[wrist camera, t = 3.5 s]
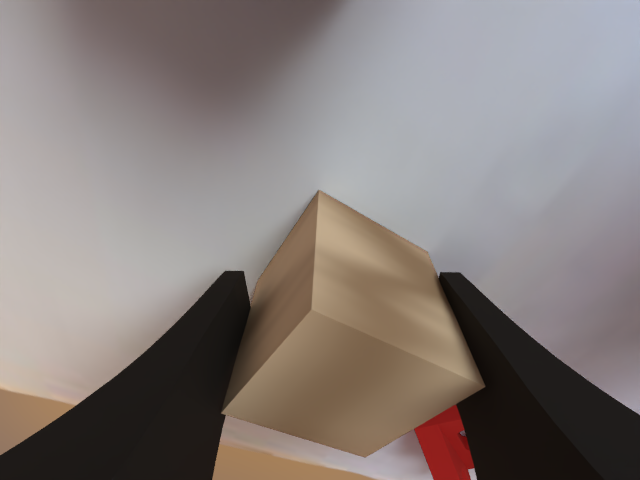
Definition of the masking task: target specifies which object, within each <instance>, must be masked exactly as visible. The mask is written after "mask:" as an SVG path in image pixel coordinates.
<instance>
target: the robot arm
mask: <svg viewBox="0 0 640 480" xmlns="http://www.w3.org/2000/svg"><path fill="white" fill-rule="evenodd" d="M439 281H440V284H441V286H442V288H443V291H444V293H445V295H446V298H447V300H448V302H449V304H450V306H451V308H452V310H453V312H454V315H455V317H456V319H457V322H458V324H459V326H460V329H461V331H462V333H463V336H464V338H465V340H466V343H467V345H468V347H469V349H470V352H471V354H472V356H473V359H474V361H475V363H476V366H477V368H478V370H479V373H480V375H481V377H482V380H483V382H484V384H485V387H484V388H482V389H481V390H479V391H477V392H476V393H474V394H472V395H470V396H469V397H467V398H465V399H464V400H462V401H460V402H459V403H457V404H456V406H457V409H458V412H459V414H460V417H461V421H462V424H463V427H464V430H465V433H466V437H467V441H468V445H469V449H470V453H471V457H472V460H473V464H474V468H475V472H476V476H477V480H640V415H639V414H637V413H636V412H634V411H632V410H631V409H629V408H628V407H626V406H625V405H623V404H622V403H620V402H619V401H617V400H615V399H614V398H612V397H611V396H609V395H608V394H607V393H605V392H604V391H602V390H601V389H599V388H598V387H596V386H595V385H593V384H592V383H591V382H589V381H588V380H586V379H585V378H584V377H582V376H581V375H580V374H578V373H577V372H575V371H574V370H573V369H571V368H570V367H569V366H567V365H566V364H564V363H563V362H562V361H561V360H559V359H558V358H557V357H555V356H554V355H553V354H551V353H550V352H549V351H548V350H547V349H545V348H544V347H543V346H542V345H540V344H539V343H538V342H537V341H535V340H534V339H533V338H532V337H531V336H529V335H528V334H527V333H526V332H525V331H523V330H522V329H521V328H520V327H519V326H518V325H516V324H515V323H514V322H513V321H512V320H511V319H510V318H509V317H507V316H506V315H505V314H504V313H503V312H502V311H501V310H500V309H499V308H497V307H496V306H495V305H494V304H493V303H492V302H491V301H490V300H489V299H488V298H487V297H486V296H485V295H483V294H482V293H481V292H480V291H479V290H478V289H477V288H476V287H475V286H474V285H473V284H472V283H471V282H470V281H469V280H467V279H466V278H465V277H464V276H463V275H462V274H461V273H457V272H440V276H439ZM250 309H251V306H250V301H249V296H248V291H247V286H246V281H245V276H244V271H225V272H224V273H223V274H222V275H221V276H220V277H219V278H218V279H217V280H216V281H215V282H214V283H213V284H212V285H211V287H210V288H209V289H208V290H207V291H206V292H205V293H204V294H203V295H202V296H201V297H200V298H199V300H198V301H197V302H196V303H195V304H194V305H193V306H192V307H191V308H190V309H189V310H188V311H187V312H186V313H185V314H184V315H183V316H182V317H181V318H180V319H179V320H178V321H177V322H176V323H175V324H174V325H173V326H172V327H171V328H170V329H169V330H168V331H167V332H166V333H165V334H164V335H163V336H162V337H161V338H160V339H159V340H157V341H156V342H155V343H154V344H153V345H152V346H151V347H150V348H149V349H148V350H147V351H145V352H144V353H143V354H142V355H141V356H140V357H138V358H137V359H136V360H135V361H134V362H133V363H131V364H130V365H129V366H128V367H127V368H125V369H124V370H123V371H122V372H120V373H119V374H118V375H117V376H115V377H114V378H113V379H112V380H110V381H109V382H107V383H106V384H105V385H103V386H102V387H101V388H99V389H98V390H97V391H95V392H94V393H93V394H91V395H90V396H89V397H87V398H86V399H84V400H83V401H82V402H80V403H79V404H78V405H76V406H75V407H74V408H72V409H71V410H69V411H68V412H66V413H65V414H63V415H62V416H61V417H59V418H58V419H56V420H55V421H53V422H52V423H50V424H49V425H47V426H46V427H45V428H43V429H41V430H40V431H38V432H37V433H35V434H33V435H32V436H30V437H29V438H27V439H26V440H24V441H23V442H21V443H20V444H18V445H16V446H15V447H13V448H12V449H10V450H8V451H7V452H5V453H4V454H2V455H0V480H212V477H213V472H214V466H215V461H216V456H217V452H218V447H219V442H220V437H221V432H222V428H223V424H224V420H225V416H226V415H224V414H221V411H222V407H223V404H224V400H225V397H226V393H227V389H228V386H229V382H230V379H231V375H232V372H233V368H234V364H235V361H236V357H237V354H238V350H239V346H240V343H241V340H242V337H243V333H244V330H245V327H246V323H247V319H248V316H249V312H250Z"/></svg>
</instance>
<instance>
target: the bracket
mask: <svg viewBox="0 0 640 480" xmlns="http://www.w3.org/2000/svg"><path fill="white" fill-rule="evenodd" d="M414 430H415V432H416V435H417V437H418V440H419V443H420V445H421V448H422V450H423V453H424V456H425V458H426V461H427V463H428V466H429V468H430V471H431V474H432V476H433V479H434V480H471V479H470V475H469V472H468V469H472V468H474V464H473V460H472V457H471V453H470V449H469V445H468V441H467V437H465V436H462V435H461V434H460V431H463V430H464V427H463V424H462V421H461V417H460V414H459V412H458V409H457V406H456V405H453V406H452V407H450V408H448V409H447V410H445V411H443V412H442V413H440V414H438V415H436V416H435V417H433V418H431V419H430V420H428V421H426V422H425V423H423V424H421V425H419V426H418V427H416V428H414Z"/></svg>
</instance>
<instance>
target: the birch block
mask: <svg viewBox="0 0 640 480" xmlns="http://www.w3.org/2000/svg"><path fill="white" fill-rule="evenodd" d="M484 387H485V384H484V382H483V380H482V377H481V375H480V373H479V370H478V368H477V366H476V363H475V361H474V359H473V356H472V354H471V352H470V349H469V347H468V345H467V343H466V340H465V338H464V336H463V333H462V331H461V329H460V326H459V324H458V322H457V319H456V317H455V315H454V312H453V310H452V308H451V306H450V304H449V302H448V300H447V298H446V295H445V293H444V291H443V288H442V286H441V284H440V281H439V278H438V275H437V273H436V271H435V268H434V266H433V264H432V261H431V259H430V257H429V254H428V252H427V251H425V250H423V249H421V248H420V247H418V246H416V245H414V244H413V243H411V242H409V241H407V240H406V239H404V238H402V237H400V236H399V235H397V234H395V233H393V232H392V231H390V230H388V229H387V228H385V227H383V226H381V225H380V224H378V223H376V222H374V221H373V220H371V219H369V218H367V217H366V216H364V215H362V214H360V213H359V212H357V211H355V210H353V209H352V208H350V207H348V206H346V205H345V204H343V203H341V202H339V201H338V200H336V199H334V198H332V197H331V196H329V195H327V194H325V193H324V192H322V191H320V190H319V191H318V192H317V193H316V195H315V196H314V198H313V199H312V201H311V202H310V204H309V205H308V207H307V208H306V210H305V211H304V213H303V214H302V216H301V217H300V219H299V220H298V222H297V223H296V225H295V226H294V228H293V229H292V231H291V232H290V234H289V235H288V237H287V238H286V239H285V241H284V242H283V244H282V245H281V247H280V248H279V250H278V251H277V253H276V254H275V256H274V257H273V259H272V260H271V262H270V263H269V265H268V266H267V268H266V269H265V271H264V272H263V274H262V275H261V277H260V278H259V280H258V282H257V286H256V289H255V293H254V296H253V300H252V303H251V309H250V312H249V316H248V319H247V323H246V327H245V330H244V333H243V337H242V340H241V343H240V346H239V350H238V354H237V357H236V361H235V364H234V368H233V372H232V375H231V379H230V382H229V386H228V389H227V393H226V397H225V400H224V404H223V407H222V411H221V414H224V415H228V416H231V417H234V418H237V419H241V420H244V421H247V422H250V423H254V424H257V425H260V426H264V427H267V428H270V429H273V430H277V431H280V432H283V433H286V434H290V435H293V436H296V437H300V438H303V439H306V440H309V441H313V442H316V443H319V444H322V445H326V446H329V447H332V448H336V449H339V450H342V451H345V452H349V453H352V454H355V455H358V456H362V457H367V456H369V455H370V454H372V453H374V452H375V451H377V450H379V449H380V448H382V447H384V446H386V445H387V444H389V443H391V442H392V441H394V440H396V439H397V438H399V437H401V436H402V435H404V434H406V433H408V432H409V431H411V430H413V429H414V428H416V427H418V426H419V425H421V424H423V423H425V422H426V421H428V420H430V419H431V418H433V417H435V416H436V415H438V414H440V413H442V412H443V411H445V410H447V409H448V408H450V407H452V406H453V405H455V404H457V403H459V402H460V401H462V400H464V399H465V398H467V397H469V396H470V395H472V394H474V393H476V392H477V391H479V390H481V389H482V388H484Z"/></svg>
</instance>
